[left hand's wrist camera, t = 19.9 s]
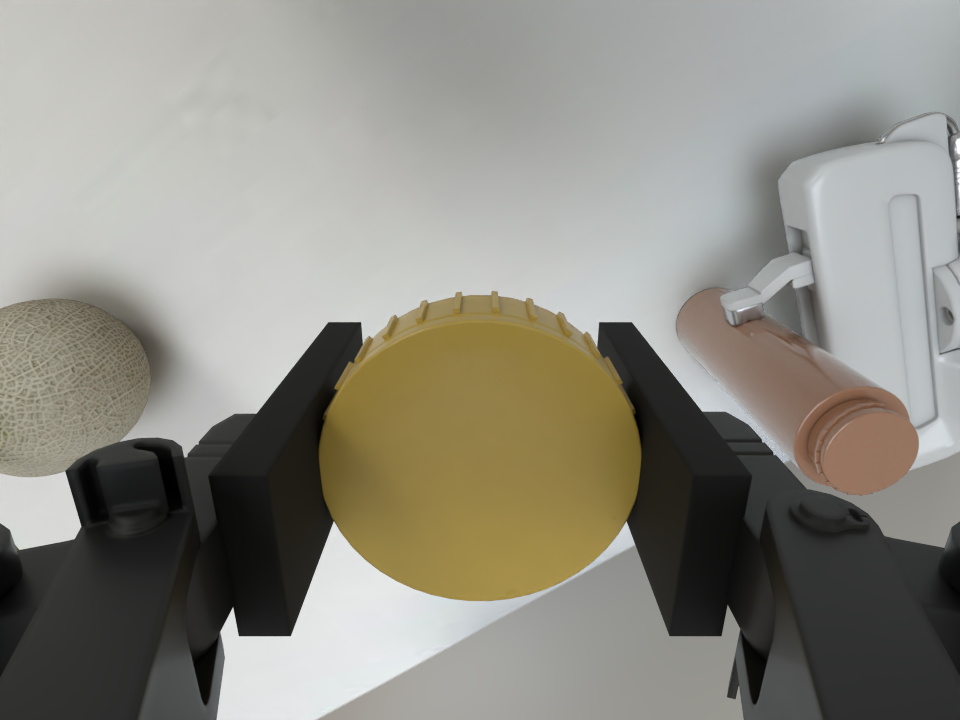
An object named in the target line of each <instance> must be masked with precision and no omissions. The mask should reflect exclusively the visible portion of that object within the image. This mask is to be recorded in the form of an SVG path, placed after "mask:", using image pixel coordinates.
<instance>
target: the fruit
mask: <svg viewBox="0 0 960 720" xmlns="http://www.w3.org/2000/svg"><path fill="white" fill-rule="evenodd" d="M150 383H151V375H150V366H149V362H148V359H147V356H146V353H145V351H144V349H143V347H142V345H141V342H140V340H139V339H138V338H137V337H136V336H135V335H134V333H133V332H132V331H131V330H130V329H129V328H128V327H127V326H126V325H125V324H123V323H122V322H121V321H120V320H118V319H117V318H116V317H114V316H112V315H110V314H108V313H106V312H105V311H103V310H101V309H99V308H97V307H94V306H92V305H89V304H86V303H82V302H78V301H73V300H64V299H44V300H32V301H26V302H21V303H17V304H13V305H10V306H7V307H3V308H1V309H0V473H1V474H6V475H11V476H18V477H40V476H48V475H53V474H57V473H61V472H65V471H66V470H67V469H68V468H69V467H70V466H71V465H72V464H73V463H74V462H75V461H76V460H78V459H79V458H81V457H83V456H85V455H87V454H89V453H90V452H92V451H94V450H97V449H99V448H102V447H105V446H108V445H111V444H114V443H117V442H120V441H121V439H122V438H124V437H125V436H126V435H127V434H128V432H129V431H130V430H131V429H132V428H133V426H134V425H135V424H136V423H137V421H138V420H139V418H140V417H141V414H142V412H143V410H144V407H145V405H146V402H147V399H148V395H149V391H150ZM15 547H16V545H15ZM16 549H17V551H18V550H19V549H18V548H17V547H16Z"/></svg>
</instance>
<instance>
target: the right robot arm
mask: <svg viewBox="0 0 960 720" xmlns="http://www.w3.org/2000/svg"><path fill="white" fill-rule="evenodd" d="M947 129H948V132H949V133H947ZM778 190H779V196H780V202H781V208H782V214H783V220H784V226H785V232H786V238H787V244H788V250H789V254H786V255H783V256H781V257H778V258H775V259H772V260H771V261H770V262H769V263H768V264H767V265H766V266H765V267H764V268H763V269H762V270H761V271H760V272H759V273H758V274H757V275H756V276H755V277H754V278H753V279H752V280H751V281H750V282H749V283H748V284H747V286H748V287H745V288H742V289H739V290H736V291H733V292H730V293H727V294H724V295H722V296H721V297H720V300H721V305H722V310H723V314H724V318H725V320H726V321H728V322H729V323H730V324H731V325H734V326H737V325H742V324H745V323H747V321H748V320H751V321H754V320H758V319H761V318H764V311H763V304H765V303H766V302H767V301H768V300H769V299H770V298H771V297H772V296H774V295H775V294H776V293H777V292H778V291H779V290H780V289H782V288H783V287H784V286H785V285H788V286H790V287H792V288H795V292H796V298H797V304H798V310H799V316H800V322H801V328H802V334H803V337H805V338H806V339H808V340H809V341H811V342H812V343H814V344H816V345H817V346H819V347H820V348H822V349H823V350H825V351H827V352H828V353H830V354H831V355H833V356H834V357H836V358H838V359H839V360H841V361H842V362H844V363H845V364H847V365H848V366H850V367H852V368H853V369H855V370H856V371H858V372H859V373H861V374H863V375H864V376H866V377H867V378H869V379H870V380H872V381H874V382H875V383H877V384H878V385H880V386H881V387H883V388H885V389H886V390H888V391H889V392H891V393H892V394H894V395H895V396H897V397H898V398H899V399H900V400H901V401H902V403H903V404H904V406H905V407H906V409H907V411H908V415H909V418H910V422H911V423H912V425H913V426H914V428H915V430H916V431H917V434H918V438H919V449H918V454H917V457H916V459H915V461H914V463H913V465H912V467H911V468H910V469H909V471H910V470H913V469H916V468H919V467H922V466H925V465H928V464H931V463H934V462H936V461H939V460H942V459H945V458H947V457H949V456H952V455H954V454H956V453H958V452H959V451H960V131H959V130H958V127H957V125H956V123H955V121H954V120H953V119H952V118H951V117H949V116H948V115H946V114H943V113H939V112H929V113H924V114H921V115H919V116H916V117H913V118H910V119H907V120H904V121H901V122H899V123H897V124H895V125H893V126H892V127H891V128H889V129H888V130H887V131H885V132H884V133H883V134H882V136H881V137H880V138H879V140H878V141H877V142H869V143H863V144H857V145H852V146H847V147H842V148H837V149H833V150H829V151H825V152H821V153H817V154H814V155H810V156H807V157H804V158H801V159H798V160H795V161H793V162H792V163H791V164H790V165H789V166H788V168H787V169H786V170H785V171H784V173H783V174H782V175H781V177H780V178H779V180H778Z"/></svg>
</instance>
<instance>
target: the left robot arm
mask: <svg viewBox="0 0 960 720" xmlns="http://www.w3.org/2000/svg"><path fill="white" fill-rule="evenodd" d="M362 345H363V342H362V328H361V322H328V324H327V325H326V326H325V328H324V329H323V330H322V331H321V333H320V334H319V335H318V336H317V338H316V339H315V340H314V342H313V343H312V344H311V345H310V347H309V348H308V349H307V350H306V352H305V353H304V354H303V355H302V357H301V358H300V359H299V361H298V362H297V363H296V364H295V366H294V367H293V368H292V369H291V371H290V372H289V373H288V375H287V376H286V377H285V378H284V380H283V381H282V382H281V383H280V385H279V386H278V387H277V389H276V390H275V391H274V392H273V394H272V395H271V396H270V397H269V399H268V400H267V401H266V403H265V404H264V405H263V406H262V408H261V409H260V410H259V411H258V413H257V414H234V415H232V416H230V417H229V418H227V419H225V420H223V421H222V422H220V423H218V424H216V425H215V426H213V427H212V428H211V429H210V430H209V431H208V432H207V433H206V434H205V436H204V437H203V438H202V439H201V440H200V441H199V445H196V446H195V447H194V448H193V449H192V450H191V451H190V452H189V453H188V457H185V458H184V455H183V450H182V446H180V445H179V444H177V443H176V442H174V441H173V440H168V439H162V438H138V439H133V440H127V441H122V442H117V443H114V444H111V445H108V446H105V447H102V448H99V449H97V450H94V451H92V452H90V453H89V454H87V455H85V456H83V457H81V458H79V459H78V460H76V461H75V462H74V463H73V464H72V465H71V466H70V467H69V468H68V469H67V470H66V471H65V472H66V475H67V478H68V482H69V485H70V489H71V492H72V495H73V499H74V502H75V506H76V509H77V512H78V516H79V519H80V523H81V526H82V527H81V529H80V531H79V532H78V534H77V536H76V538H75V539H74V540H70V541H65V542H60V543H54V544H49V545H44V546H39V547H33V548H28V549H23V550H18V551H17V549H16V547H15V544H14V541H13V538H12V535H11V532H10V530H9V529H8V528H6V527H5V526H3V525H2V524H0V720H216V718H217V711H218V704H219V696H220V689H221V681H222V674H223V667H224V659H225V656H224V649H223V643H222V638H221V633H220V631H221V629H222V627H223V625H224V623H225V621H226V619H227V617H228V615H229V614H230V612H231V610H232V608H234V613H235V618H236V623H237V629H238V634H239V636H291V634H292V631H293V629H294V626H295V623H296V621H297V618H298V615H299V613H300V610H301V607H302V605H303V602H304V599H305V597H306V594H307V591H308V589H309V586H310V583H311V581H312V578H313V575H314V572H315V570H316V567H317V564H318V562H319V559H320V556H321V554H322V551H323V548H324V546H325V543H326V540H327V538H328V535H329V532H330V530H331V527H332V524H333V522H334V520H333V518H332V516H331V514H330V512H329V509H328V507H327V505H326V502H325V500H324V496H323V490H322V482H321V473H320V464H319V442H320V437H321V432H322V427H323V424H324V421H325V420H323V416H324V413H325V412H326V410H327V408H328V406H329V404H330V402H331V401H332V399H333V397H334V395H335V393H336V391H337V390H336V389H334V388H335V386H336V384H337V382H338V381H339V379H340V377H341V375H342V374H343V372H344V370H345V368H346V367H347V365H348V363H349V362H351V363H353V364H354V362H355V358H356V356H357V354H358V352H359V351H360V349H361V347H362ZM597 348H598V350H599V352H600V354H601V355H602V357H603V358H606V357H608V358H609V359H610V361H611V363H612V364H613V366H614V368H615V370H616V371H617V373H618V375H619V377H620V379H621V380H622V382H623V383H622V384H620V385H622V387H623V388H624V390H625V392H626V394H627V396H628V398H629V399H630V401H631V403H632V405H633V407H634V408H635V411H636V414H633V415H634V418H635V420H636V423H637V426H638V430H639V435H640V440H641V446H642V458H641V468H640V477H639V485H638V493H637V497H636V500H635V503H634V506H633V508H632V510H631V512H630V515H629V517H628V519H627V523H628V526H629V529H630V531H631V534H632V537H633V539H634V542H635V545H636V547H637V550H638V553H639V555H640V558H641V561H642V563H643V566H644V569H645V571H646V574H647V577H648V580H649V582H650V585H651V587H652V590H653V593H654V596H655V598H656V601H657V604H658V606H659V609H660V612H661V614H662V617H663V620H664V622H665V625H666V628H667V630H668V633H669V636H722V630H723V625H724V620H725V615H726V610H727V605H728V606H729V608H730V610H731V612H732V614H733V615H734V617H735V619H736V621H737V623H738V625H739V627H740V634H739V638H738V643H737V648H736V653H735V658H734V662H733V667H732V672H731V677H730V682H729V687H728V694H727V697H728V698H733V699H736V694H737V690H738V686H739V687H740V695H741V702H742V709H743V717H744V720H960V522H959V523H957V524H956V525H954V526H953V527H952V528H951V531H950V534H949V537H948V539H947V542H946V545H945V548H941V547H936V546H931V545H926V544H920V543H915V542H910V541H904V540H899V539H894V538H890V537H886V536H884V535H883V533H882V531H881V529H880V528H879V526H878V525H877V524H876V522H875V521H874V520H873V519H872V518H871V517H870V516H869V514H868V513H866V512H864V511H863V510H861V509H860V508H858V507H857V506H855V505H854V504H852V503H850V502H848V501H845V500H843V499H841V498H838V497H836V496H833V495H831V494H827V493H822V492H818V491H813V490H807V489H806V488H805V487H804V485H803V484H802V483H801V482H800V481H799V480H798V479H797V478H796V477H795V476H794V474H793V473H792V472H791V471H790V470H789V469H788V468H787V467H786V466H785V465H784V463H783V462H782V461H781V460H780V459H779V458H778V457H777V456H776V455H773V451H772V450H771V449H770V448H769V447H768V446H767V445H766V444H765V443H762V439H761V438H760V437H759V436H758V435H757V434H756V433H755V431H754V430H753V429H752V428H751V427H750V426H749V425H748V424H746V423H744V422H743V421H741V420H739V419H737V418H736V417H734V416H732V415H730V414H729V413H727V412H702V411H701V410H700V408H699V407H698V406H697V405H696V403H695V402H694V401H693V400H692V398H691V397H690V396H689V394H688V393H687V392H686V391H685V389H684V388H683V387H682V386H681V384H680V383H679V382H678V380H677V379H676V378H675V377H674V375H673V374H672V373H671V372H670V370H669V369H668V368H667V366H666V365H665V364H664V363H663V361H662V360H661V359H660V358H659V356H658V355H657V354H656V352H655V351H654V350H653V349H652V347H651V346H650V345H649V344H648V342H647V341H646V340H645V338H644V337H643V336H642V335H641V333H640V332H639V331H638V330H637V328H636V327H635V326H634V324H633V323H632V322H599V333H598V346H597Z"/></svg>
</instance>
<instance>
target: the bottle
mask: <svg viewBox="0 0 960 720" xmlns="http://www.w3.org/2000/svg"><path fill="white" fill-rule="evenodd" d="M730 292H732V291H730V290H727V289H722V288H712V289H707V290H704V291H701V292H699V293H697V294H696V295H694V296H693V297H691V298H690V299H689V300H688V301H687V302H686V303H685V304H684V306H683V307H682V309H681V310H680V313H679V315H678V318H677V323H676V330H677V335H678V338H679V340H680V342H681V344H682V345H683V346H684V347H685V348H686V349H687V350H688V351H689V352H690V354H691V355H692V356H693V357H694V358H695V359H696V360H697V361H698V362H699V363H700V364H701V365H702V366H703V367H704V368H705V369H706V370H707V372H708V373H709V374H710V375H711V376H712V377H713V378H714V379H715V380H716V381H717V382H718V383H719V384H720V385H721V386H722V387H723V389H724V390H725V391H726V392H727V393H728V394H729V395H730V396H731V397H732V398H733V399H734V400H735V401H736V402H737V403H738V404H739V406H740V407H741V408H742V409H743V410H744V411H745V412H746V413H747V414H748V415H749V416H750V417H751V418H752V419H753V420H754V421H755V422H756V424H757V425H758V426H759V427H760V428H761V429H762V430H763V431H764V432H765V433H766V434H767V435H768V436H769V437H770V438H771V439H772V441H773V442H774V443H775V444H776V445H777V446H778V447H779V448H780V449H781V450H782V451H783V452H784V453H785V454H786V455H787V456H788V457H789V459H790V460H791V461H792V462H793V463H794V464H795V465H796V466H797V467H798V468H799V469H800V470H801V471H802V472H803V473H804V474H805V475H806V476H807V477H808V478H810V479H811V480H813V481H815V482H817V483H819V484H822V485H826V486H831V487H833V488H834V489H835V490H837V491H841V492H844V493H847V494H852V495H860V496H862V495H867V494H872V493H873V492H877V491H880V490H882V489H885V488H887V487H889V486H891V485H893V484H894V483H896V482H897V481H898V480H900V479H901V478H902V477H903V476H904V475H905V474H906V473H907V472H908V471H909V469H910V468H911V467H912V465H913V463H914V461H915V459H916V457H917V454H918V449H919V438H918V434H917V431H916V430H915V428H914V426H913V425H912V423H911V422H910V418H909V415H908V411H907V409H906V407H905V406H904V404H903V403H902V401H901V400H900V399H899V398H898V397H897V396H895V395H894V394H892V393H891V392H889V391H888V390H886V389H885V388H883V387H881V386H880V385H878V384H877V383H875V382H874V381H872V380H870V379H869V378H867V377H866V376H864V375H863V374H861V373H859V372H858V371H856V370H855V369H853V368H852V367H850V366H848V365H847V364H845V363H844V362H842V361H841V360H839V359H838V358H836V357H834V356H833V355H831V354H830V353H828V352H827V351H825V350H823V349H822V348H820V347H819V346H817V345H816V344H814V343H812V342H811V341H809V340H808V339H806V338H805V337H803V336H801V335H800V334H798V333H797V332H795V331H794V330H792V329H791V328H789V327H787V326H786V325H784V324H783V323H781V322H780V321H778V320H776V319H775V318H773V317H772V316H770V315H769V314H767V313H765V312H764V318H761V319H758V320H754V321H751V320H748V321H747V323H745V324H742V325H737V326H734V325H731V324H730V323H729V322H728V321H726V320H725V318H724V314H723V310H722V305H721V300H720V297H721V296H722V295H724V294H727V293H730Z"/></svg>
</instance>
